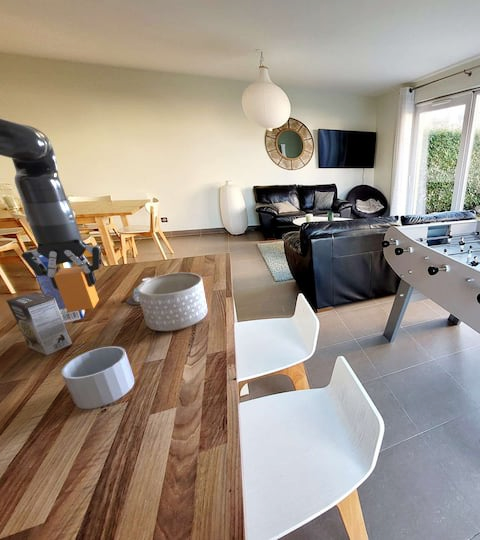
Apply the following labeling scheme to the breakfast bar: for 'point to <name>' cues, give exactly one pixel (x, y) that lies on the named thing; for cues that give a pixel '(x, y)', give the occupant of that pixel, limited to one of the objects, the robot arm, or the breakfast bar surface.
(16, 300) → the coffee box
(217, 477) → the breakfast bar surface
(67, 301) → the juice carton
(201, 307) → the planter
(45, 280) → the beverage box
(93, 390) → the ceramic bowl
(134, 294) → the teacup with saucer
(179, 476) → the breakfast bar surface
